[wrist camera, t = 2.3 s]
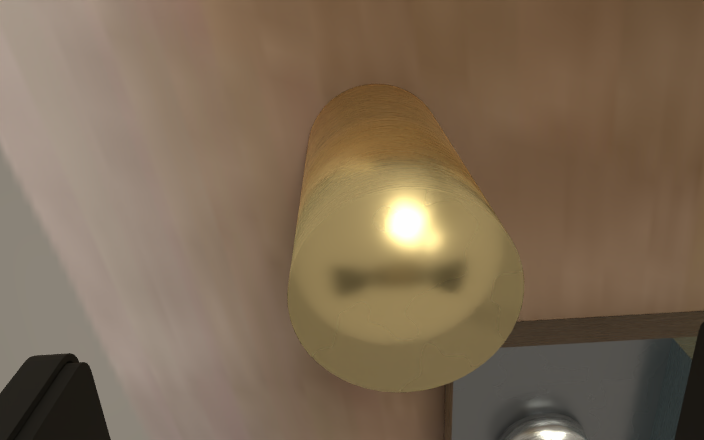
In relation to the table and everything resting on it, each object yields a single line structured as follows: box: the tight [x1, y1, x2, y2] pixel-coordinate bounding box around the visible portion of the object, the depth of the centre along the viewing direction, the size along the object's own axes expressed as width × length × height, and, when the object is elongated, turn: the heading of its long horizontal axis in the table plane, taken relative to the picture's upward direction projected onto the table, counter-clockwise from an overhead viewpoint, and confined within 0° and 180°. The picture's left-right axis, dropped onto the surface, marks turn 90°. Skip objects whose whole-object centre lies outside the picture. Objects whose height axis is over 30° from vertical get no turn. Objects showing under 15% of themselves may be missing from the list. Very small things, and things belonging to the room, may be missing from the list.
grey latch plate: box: [444, 311, 704, 440], centre depth 23 cm, size 10×18×2 cm, turn 93°
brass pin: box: [287, 84, 524, 392], centre depth 15 cm, size 4×4×9 cm
